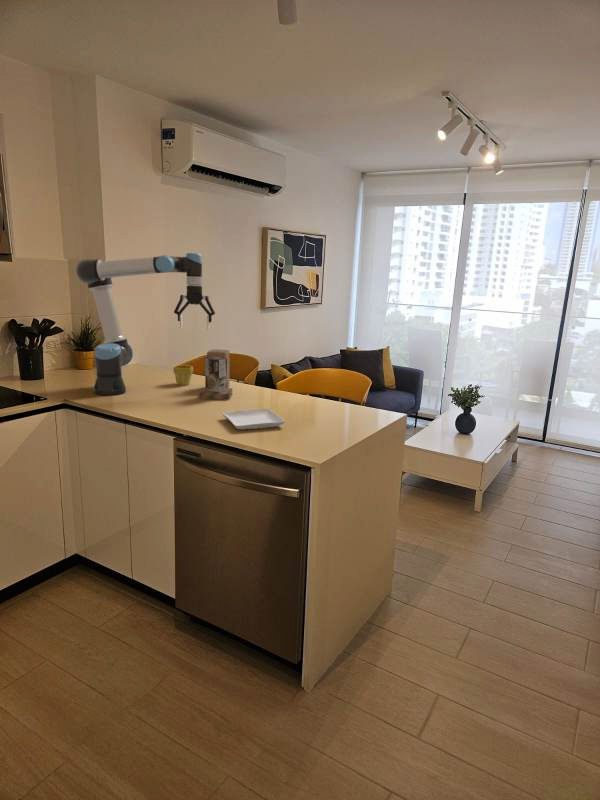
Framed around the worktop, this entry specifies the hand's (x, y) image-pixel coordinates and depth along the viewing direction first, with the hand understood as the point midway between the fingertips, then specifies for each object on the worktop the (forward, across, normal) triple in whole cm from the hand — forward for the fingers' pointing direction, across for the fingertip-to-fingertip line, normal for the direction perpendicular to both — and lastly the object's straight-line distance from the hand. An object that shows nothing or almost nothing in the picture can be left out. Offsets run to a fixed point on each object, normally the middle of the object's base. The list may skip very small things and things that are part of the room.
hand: (194, 328), depth 271 cm
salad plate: (+32, +35, -58) cm, 75 cm away
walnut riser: (+32, +13, -13) cm, 37 cm away
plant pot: (+32, -9, +13) cm, 36 cm away
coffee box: (+29, +13, -13) cm, 34 cm away
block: (+32, +11, +6) cm, 34 cm away
